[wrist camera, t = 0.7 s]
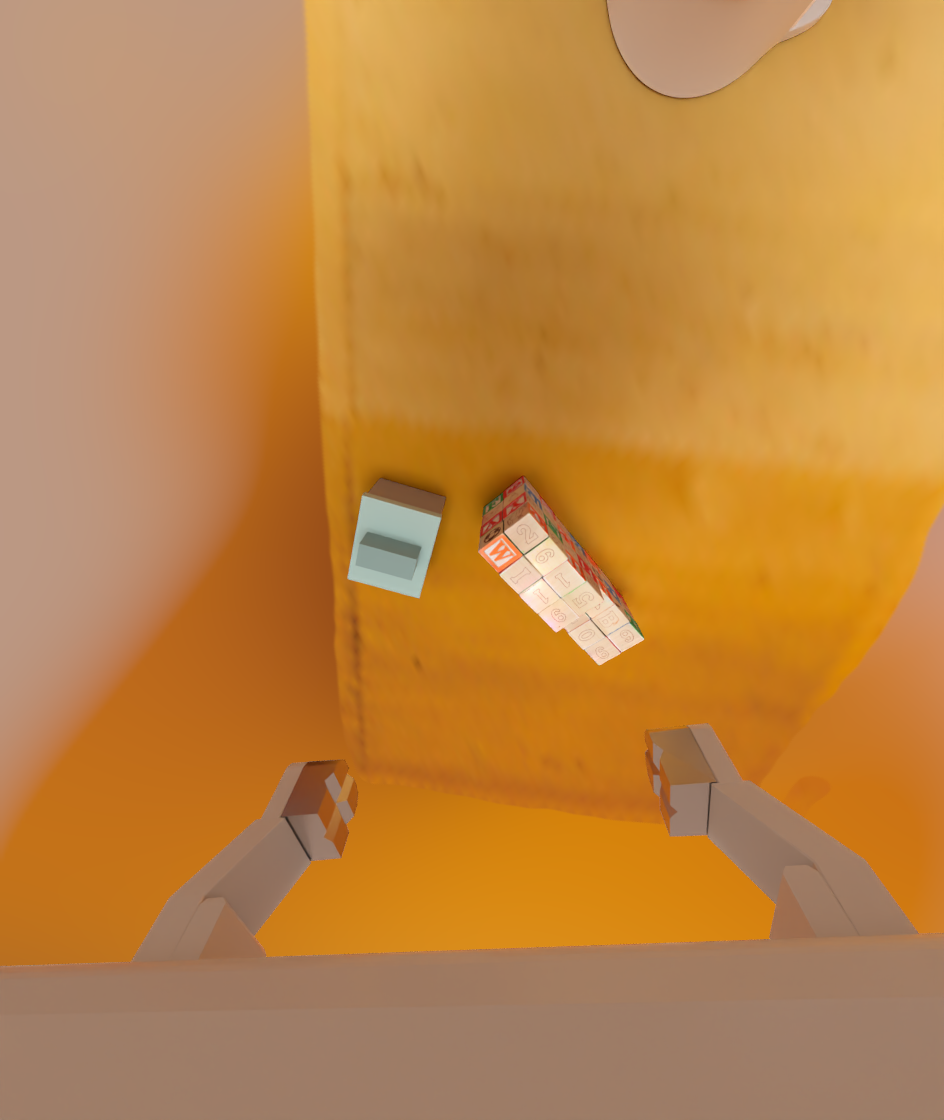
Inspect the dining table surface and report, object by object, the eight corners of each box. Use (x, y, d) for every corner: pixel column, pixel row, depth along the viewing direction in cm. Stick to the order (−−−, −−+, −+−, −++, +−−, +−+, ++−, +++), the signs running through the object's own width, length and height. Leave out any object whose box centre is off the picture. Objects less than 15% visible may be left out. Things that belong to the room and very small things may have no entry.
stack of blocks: (624, 596, 56) (654, 658, 45) (584, 620, 58) (603, 686, 47) (522, 473, 49) (529, 512, 38) (481, 506, 52) (476, 552, 41)
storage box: (380, 477, 50) (366, 494, 45) (446, 497, 51) (440, 515, 46) (366, 550, 55) (352, 573, 50) (426, 567, 56) (419, 591, 50)
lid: (367, 488, 46) (353, 505, 41) (443, 510, 47) (437, 529, 42) (353, 569, 51) (338, 592, 46) (422, 588, 51) (414, 613, 47)
